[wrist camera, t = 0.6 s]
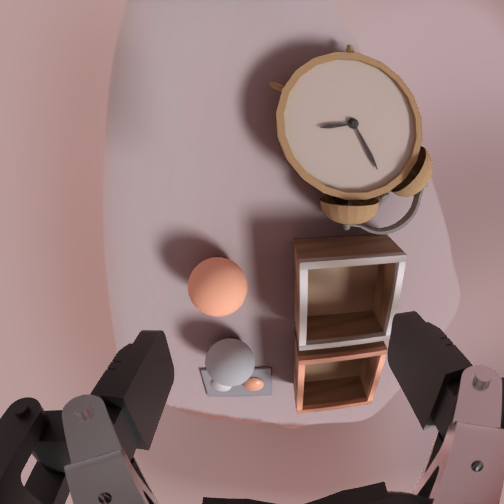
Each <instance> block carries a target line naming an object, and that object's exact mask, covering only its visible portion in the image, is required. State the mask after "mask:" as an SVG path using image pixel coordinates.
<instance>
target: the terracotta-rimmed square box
mask: <svg viewBox="0 0 504 504" xmlns="http://www.w3.org/2000/svg"><path fill="white" fill-rule="evenodd" d="M386 354H387V347H386V345H385V343H384V341H379V342H372V343H365V344H357V345H350V346H341V347H333V348H323V349H313V350H302V351H299V347H298V340H297V334H296V330H294V381H293V384H294V393H295V402H296V412H297V413H307V412H316V411H325V410H333V409H340V408H347V407H353V406H359V405H365V404H371V403H372V400H373V397H374V394H375V391H376V388H377V385H378V382H379V378H380V375H381V372H382V368H383V365H384V361H385V358H386Z"/></svg>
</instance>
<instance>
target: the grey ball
mask: <svg viewBox="0 0 504 504" xmlns="http://www.w3.org/2000/svg"><path fill="white" fill-rule="evenodd" d="M205 365H206V369H207V372H208V374H209V376H210V377H211V378H212V379H213V380H214V381H215V382H217V383H219V384H221V385H224V386H237V385H240V384H242V383H244V382H245V381H247V380H248V379H249V378H250V376H251V375H252V373H253V371H254V367H255V358H254V355H253V352H252V351H251V349H250V348H249V347H248V345H246V344H245V343H244V342H242V341H240V340H237V339H232V338H228V339H222V340H220V341H218V342H216V343H215V344H213V345H212V346H211V347H210V349H209V350H208V352H207V355H206V359H205Z"/></svg>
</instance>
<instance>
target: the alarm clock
mask: <svg viewBox="0 0 504 504" xmlns="http://www.w3.org/2000/svg"><path fill="white" fill-rule="evenodd" d="M269 86H270V87H272V88H273V89H275V90H276V91H279V92H281V96H280V100H279V104H278V108H277V111H276V116H275V118H276V131H277V139H278V142H279V144H280V147H281V149H282V152H283V154H284V157H285V159H286V160H287V161H288V162H289V163H290V165H291V166H292V167H293V168H294V170H295V171H296V172H297V173H298V174H299V176H301V178H302V179H303V180H305V181H306V182H308V183H309V184H311V185H312V186H314V187H315V188H317V189H318V190H320V191H321V192H322V193H325V194H328V195H331V196H326V197H323V198H321V199H320V203H321V208H322V211H323V213H324V214H325V215H326V216H327V217H328V218H329V219H331V220H333V221H335V222H337V223H341V224H343V225H344V226H343V227H344V230H349V229H350V226H354V227H360V228H362V229H364V230H366V231H368V232H370V233H373V234H380V235H385V234H389V233H393V232H395V231H398V230H400V229H401V228H403V227H404V226H406V225H407V224H408V223H409V222H410V221H411V220H412V219H413V217H414V216H415V214H416V212H417V210H418V208H419V205H420V200H421V196H422V193H423V190H424V187H427V186H428V181H429V179H430V177H431V174H432V169H433V164H432V159H431V157H430V155H429V153H428V151H427V150H426V149H425V148H424V147H422V146H421V143H422V123H421V115H420V112H419V109H418V107H417V104H416V101H415V98H414V96H413V94H412V93H411V91H410V90H409V88H408V87H407V86H406V84H405V83H404V81H403V80H402V79H401V78H400V76H399V75H397V74H396V73H395V72H394V71H392V70H391V69H390V68H388V67H387V66H386V65H385V64H383V63H382V62H380V61H378V60H375V59H372V58H370V57H368V56H365V55H362V54H360V53H354V50H353V46H352V45H347V52H334V53H330V54H326V55H322V56H318V57H315V58H313V59H312V60H310V61H309V62H307V63H306V64H304V65H303V66H301V67H300V68H299V69H297V70H296V71H295V72H294V73H293V75H292V76H291V78H290V79H289V81H288V82H287V84H286V85H285V86H284V85H282V84H279V83H276V82H273V81H270V83H269ZM389 191H392V192H393V193H394V194H396V195H399V196H405V197H407V196H411V195H414V199H413V202H412V205H411V207H410V209H409V211H408V212H407V214H406V215H405V216H404V217H403V218H402V219H401V220H399V221H398V222H397V223H395V224H393V225H391V226H388V227H384V228H380V229H378V228H370V227H366V226H364V225H362V224H361V223H364V222H367V221H369V220H370V219H372V218H373V217H374V215H375V214H376V212H377V210H378V206H379V201H378V200H377V199H375V198H374V197H376V196H379V195H381V196H380V197H381V199H382V200H383V199H385V198H387V197H389V194H388V192H389ZM382 194H383V195H382ZM332 196H335V197H338V198H341V199H344V200H349V201H348V203H346V204H338V203H335V201H334V200H333V198H332Z"/></svg>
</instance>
